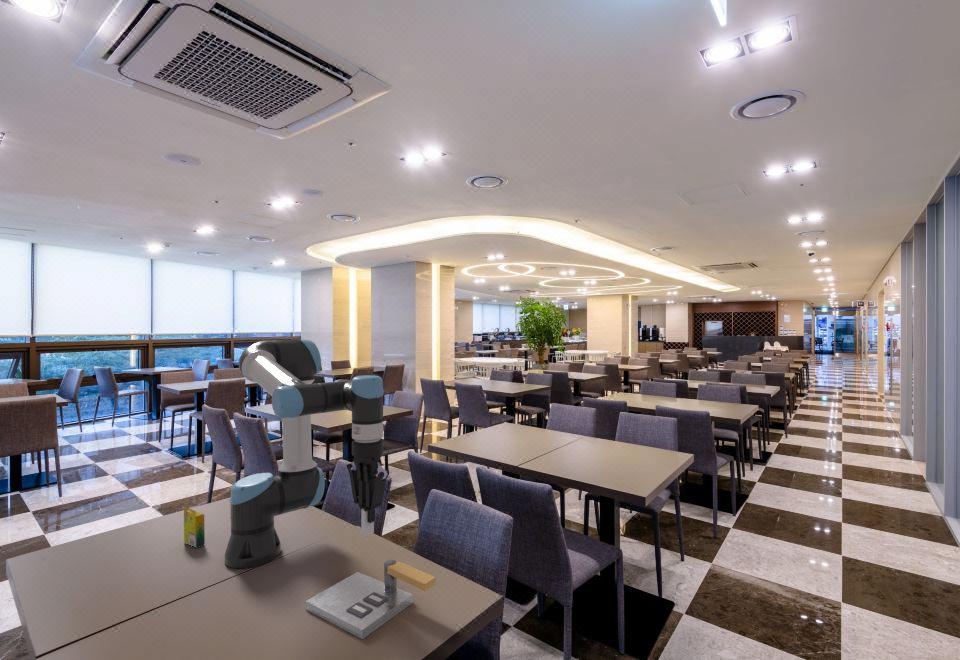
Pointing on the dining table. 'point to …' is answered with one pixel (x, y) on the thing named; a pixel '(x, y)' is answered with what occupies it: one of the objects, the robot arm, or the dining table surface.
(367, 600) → the label
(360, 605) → the label
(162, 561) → the dining table surface
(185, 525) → the crayon box
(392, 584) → the hinge post
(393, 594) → the plate
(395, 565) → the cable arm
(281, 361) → the robot arm
